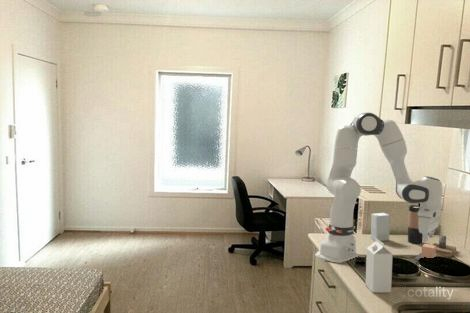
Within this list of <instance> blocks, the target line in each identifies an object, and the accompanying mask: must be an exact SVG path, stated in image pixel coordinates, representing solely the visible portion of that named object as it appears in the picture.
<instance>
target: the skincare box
mask: <svg viewBox="0 0 470 313" xmlns="http://www.w3.org/2000/svg"><path fill="white" fill-rule="evenodd" d="M390 218H391V216H390V214H388V213H385V212H378V213H376V212H375V213H371V218H370V223H371V224H370V231H371V232H370V239H371V240H373V241H374V242H375V241H376V239H378V240H379V241H381V242H385V241H386V242H387V241H388V242H389V241H390Z"/></svg>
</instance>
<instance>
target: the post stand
mask: <svg viewBox="0 0 470 313" xmlns="http://www.w3.org/2000/svg"><path fill="white" fill-rule="evenodd" d="M438 236H439V239H438V240H439V241H438V243H437V242H434V243H432V245H434V246H436V255H439V256H444V257H445V256H446V257H449V258H451V257H452V255H454V254H455V253H456V252H457V247H456V246H453V245H447V236H446V235H443V234H441V235H438Z"/></svg>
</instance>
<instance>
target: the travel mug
mask: <svg viewBox="0 0 470 313" xmlns="http://www.w3.org/2000/svg"><path fill="white" fill-rule="evenodd" d="M419 209H420V205H417V204H416V205H415V204H414V205H413V204H411V205H410V206H408V221H407V242H408V243H410V244H413V245H422V244H423V235H422V233H420V232H419V228H418V221H419V216H418V211H419Z"/></svg>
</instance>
